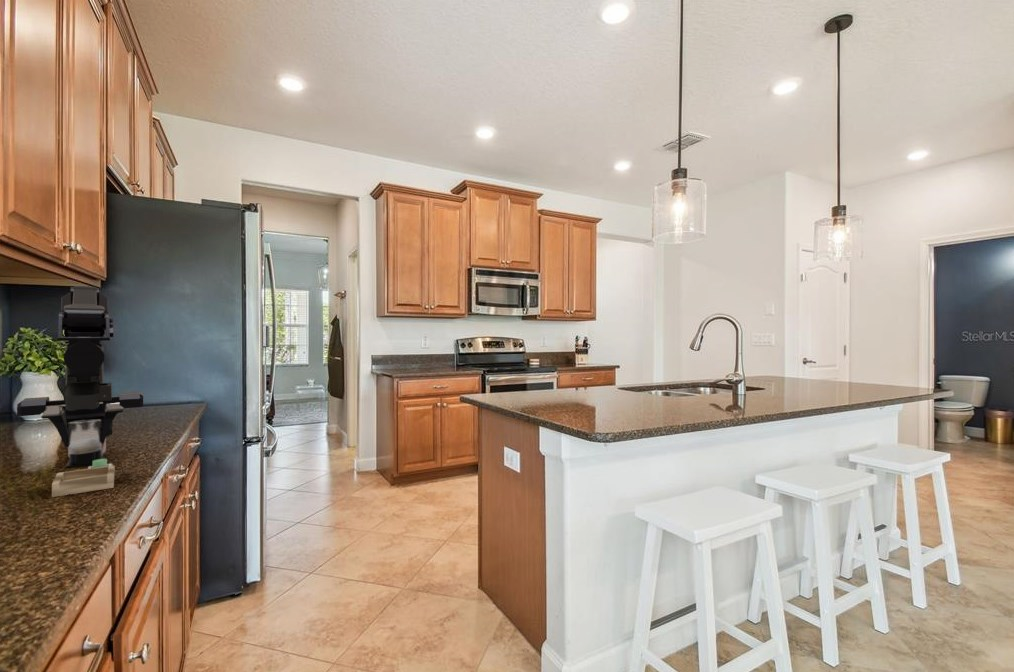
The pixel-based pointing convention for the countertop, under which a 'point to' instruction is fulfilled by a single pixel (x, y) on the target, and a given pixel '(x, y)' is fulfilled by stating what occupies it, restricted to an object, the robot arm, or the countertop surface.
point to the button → (99, 463)
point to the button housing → (92, 466)
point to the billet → (84, 436)
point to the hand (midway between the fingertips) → (85, 444)
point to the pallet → (83, 480)
